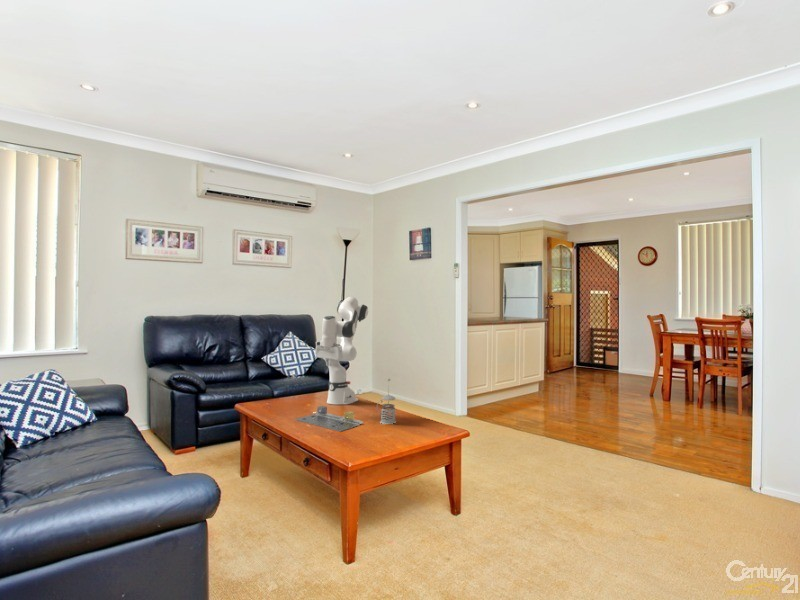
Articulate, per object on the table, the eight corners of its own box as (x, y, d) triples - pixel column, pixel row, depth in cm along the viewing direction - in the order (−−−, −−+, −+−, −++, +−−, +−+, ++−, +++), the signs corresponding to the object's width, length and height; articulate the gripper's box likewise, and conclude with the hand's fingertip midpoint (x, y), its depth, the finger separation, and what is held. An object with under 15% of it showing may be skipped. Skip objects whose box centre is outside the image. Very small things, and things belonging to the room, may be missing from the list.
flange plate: (313, 415, 275) (313, 414, 275) (358, 425, 254) (358, 424, 254) (295, 419, 264) (295, 418, 264) (340, 431, 242) (340, 430, 242)
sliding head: (348, 417, 265) (349, 411, 265) (354, 418, 262) (354, 412, 262) (337, 420, 258) (337, 414, 258) (343, 421, 255) (343, 415, 255)
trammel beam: (321, 413, 279) (321, 405, 279) (363, 423, 258) (363, 414, 258) (309, 416, 271) (309, 408, 271) (352, 427, 251) (352, 418, 251)
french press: (394, 425, 256) (395, 380, 256) (374, 423, 258) (375, 379, 258) (398, 420, 266) (399, 377, 266) (378, 419, 268) (379, 376, 268)
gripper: (345, 343, 274) (345, 367, 274) (321, 341, 286) (321, 363, 286) (337, 344, 269) (337, 368, 269) (313, 342, 281) (313, 364, 281)
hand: (328, 366), depth 278 cm, fingers closed
